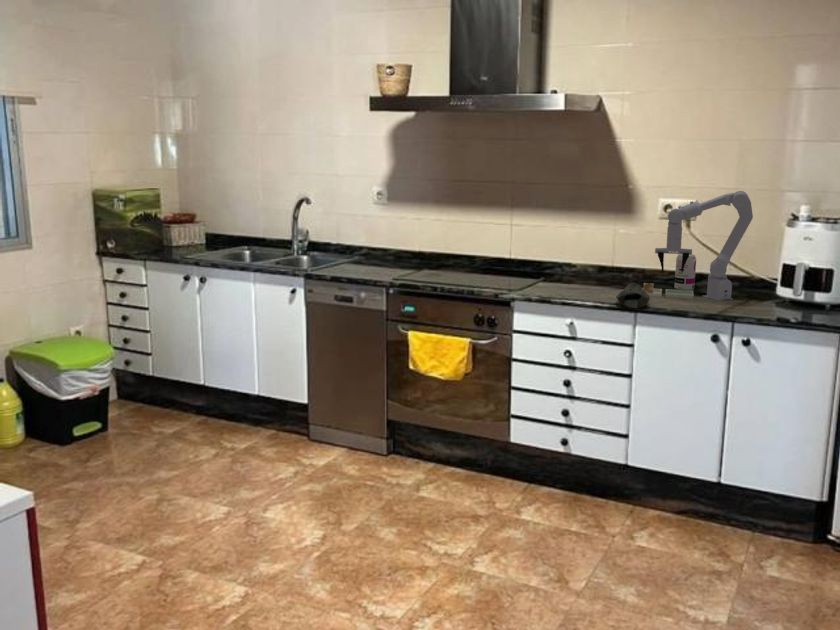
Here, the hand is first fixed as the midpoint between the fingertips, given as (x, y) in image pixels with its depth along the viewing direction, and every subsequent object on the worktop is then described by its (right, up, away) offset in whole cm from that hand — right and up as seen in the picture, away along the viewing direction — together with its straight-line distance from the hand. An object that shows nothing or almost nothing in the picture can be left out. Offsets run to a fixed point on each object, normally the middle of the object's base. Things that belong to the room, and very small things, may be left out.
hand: (672, 271), depth 342 cm
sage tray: (+3, -11, 0) cm, 11 cm away
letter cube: (-9, -9, +3) cm, 13 cm away
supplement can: (+10, -7, +15) cm, 19 cm away
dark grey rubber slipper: (-19, -14, -11) cm, 26 cm away
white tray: (-9, -10, +3) cm, 14 cm away
